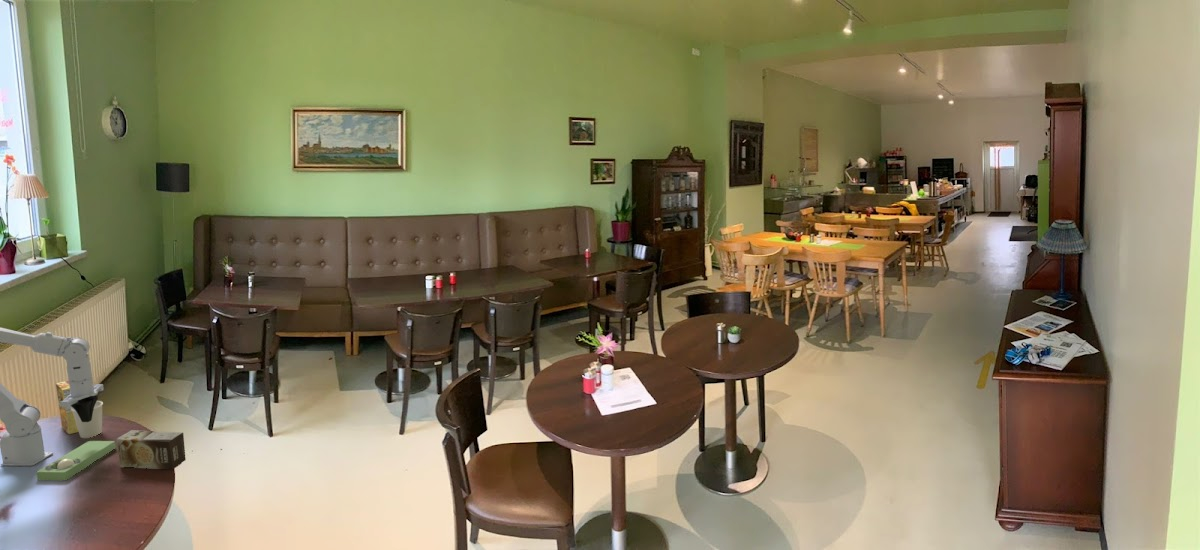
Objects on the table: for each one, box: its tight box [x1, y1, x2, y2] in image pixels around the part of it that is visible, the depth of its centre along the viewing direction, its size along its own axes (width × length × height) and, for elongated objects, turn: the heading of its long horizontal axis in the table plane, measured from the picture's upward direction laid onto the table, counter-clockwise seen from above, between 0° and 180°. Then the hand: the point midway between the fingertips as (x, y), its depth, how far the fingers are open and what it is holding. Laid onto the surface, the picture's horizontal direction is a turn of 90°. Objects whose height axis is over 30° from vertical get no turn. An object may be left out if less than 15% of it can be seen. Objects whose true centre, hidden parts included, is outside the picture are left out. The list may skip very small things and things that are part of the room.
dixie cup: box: [71, 400, 104, 439], centre depth 220 cm, size 8×8×10 cm
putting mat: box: [35, 440, 117, 481], centre depth 201 cm, size 8×20×2 cm, turn 0°
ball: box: [57, 459, 75, 469], centre depth 196 cm, size 4×4×4 cm
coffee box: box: [116, 429, 187, 471], centre depth 201 cm, size 9×6×16 cm
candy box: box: [55, 380, 79, 435], centre depth 223 cm, size 9×4×15 cm, turn 50°
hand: (86, 421), depth 208 cm, fingers closed
